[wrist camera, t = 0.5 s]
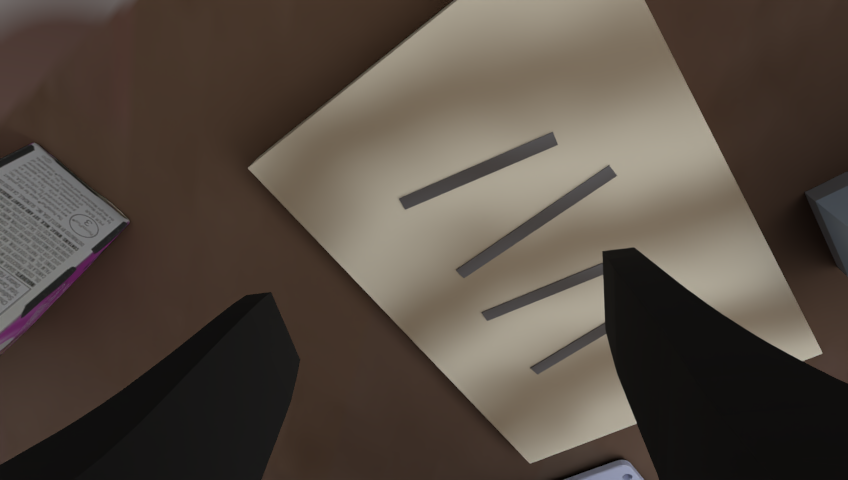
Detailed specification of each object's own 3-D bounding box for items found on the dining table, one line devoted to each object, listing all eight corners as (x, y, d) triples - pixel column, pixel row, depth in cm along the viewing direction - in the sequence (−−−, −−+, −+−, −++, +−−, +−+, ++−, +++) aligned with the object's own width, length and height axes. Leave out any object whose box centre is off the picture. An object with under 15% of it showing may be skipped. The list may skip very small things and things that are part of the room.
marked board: (809, 337, 22) (823, 354, 21) (528, 447, 27) (530, 464, 26) (583, -105, 15) (590, -107, 14) (257, 158, 20) (246, 168, 19)
